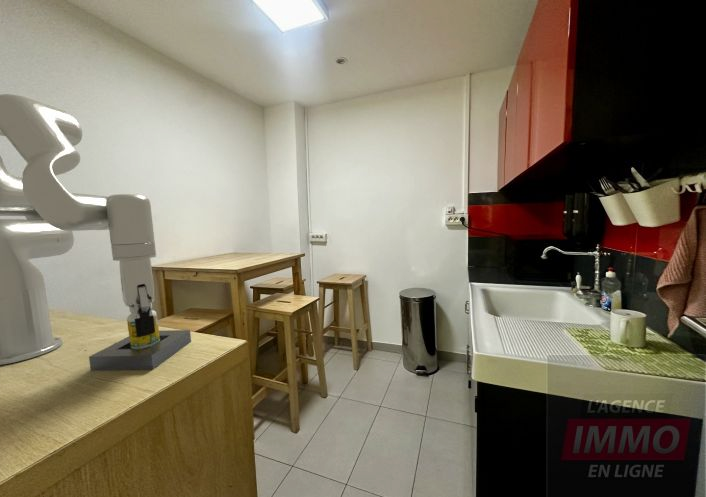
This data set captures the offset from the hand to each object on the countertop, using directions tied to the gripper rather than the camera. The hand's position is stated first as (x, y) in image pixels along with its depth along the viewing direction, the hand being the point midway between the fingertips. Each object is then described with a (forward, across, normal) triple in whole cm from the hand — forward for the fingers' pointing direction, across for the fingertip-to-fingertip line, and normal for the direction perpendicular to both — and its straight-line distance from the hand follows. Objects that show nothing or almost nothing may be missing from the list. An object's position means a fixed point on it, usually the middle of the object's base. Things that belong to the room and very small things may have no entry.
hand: (143, 330), depth 62 cm
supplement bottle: (+4, 0, 0) cm, 4 cm away
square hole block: (+6, 0, 0) cm, 6 cm away
